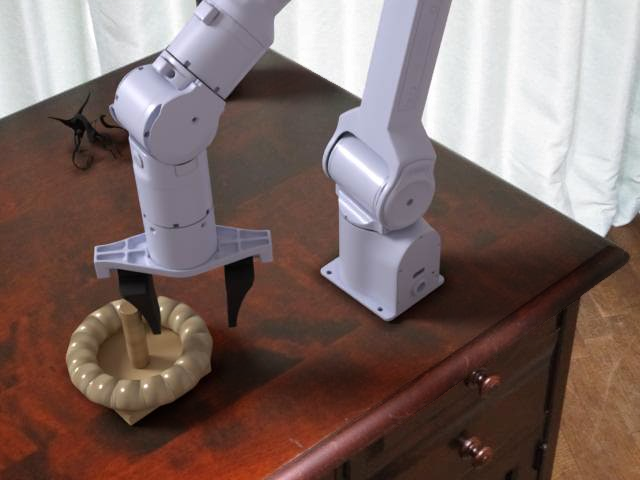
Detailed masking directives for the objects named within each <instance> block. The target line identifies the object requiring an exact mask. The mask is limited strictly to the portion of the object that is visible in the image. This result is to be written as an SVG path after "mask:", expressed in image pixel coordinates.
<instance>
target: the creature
mask: <svg viewBox="0 0 640 480" xmlns="http://www.w3.org/2000/svg"><path fill="white" fill-rule="evenodd" d="M90 97H91V91H88V95H87V97H86V99H85V100H84V103H82V105H81V106H80V108H79V109H78V110H77V112H76V113H75V114H74V115H73V117H72V118H69V119H63V118H60V117H53V116H47V118H48V119H52V120H55V121H58V122H60V123H62V124H63V125H64V126H66V127H68V128H70V129H72V130H73V140H74V141H73V142H74V149H73V150H72V156H71V161H72V164H73V165H74V166H75V167H76V168H77V169H79V170H87V169H88V168H89V161H90V158H91V157H92V154H89V155H88V154H87V155H86V154H85V157H88V158H87V161H86V167H85V168H84V167H79V166H78V165H77V163H76V162H75V157H76V153H78V154H79V155H81V156H83V154H81V153H80V149H79V148H80V147H81V146H80V145H81V143H82V140H83V139H84V135H85V132H86V136H87V139H88V141H89V142H90V143H91V144H94V143H96V142H97V140H99V141H100V144H101V146H102V147H101V148H102V149H103V150H104V151H108V152H110V153H111V155H112V156H113V158H114V159H115V160H118V158H117V157H116V155H115V153H114V152H113V150H112V149H111V148H109V147H107V146H108V145H110V146H111V147H115V148H116V151H117V152H118V154H119V156H120V157H122V156H123V155H122V153H121V151H120V149H119V147H118V145H117V144H116V141H112V139H111V137H110V135H108V133H107V132H103V131H102V132H101V133H99V132H98V131H97V130H96V126H97V121H98V118H96V119H95V120H93V121H92V122H90V121H89V119H88V118H87V117H86V116H85V115H83V110H84V109H85V107H86V106H87V104H88V102H89V100H90ZM105 117H107V115H106V114H105V113H104V114H100V115H99V121H100V123H101V124H102V126H103V127H104V128H106V129H119V130H123V131H125V132H126V133H127V136H128V138H127V140H126V141H117V143H121V144H122V143H124V144H125V143H128V142H129V135H130V134H129V132H128V130H126V129H124V128H123V127H121V126H120V125H119V126H118V125H112V124H108V122H106V121H105V119H104V118H105ZM93 123H95V125H94V126H93V125H92V124H93ZM103 134H104V135H103ZM103 138H106V141H107V143H105V141H104V139H103ZM81 139H82V140H81Z"/></svg>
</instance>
